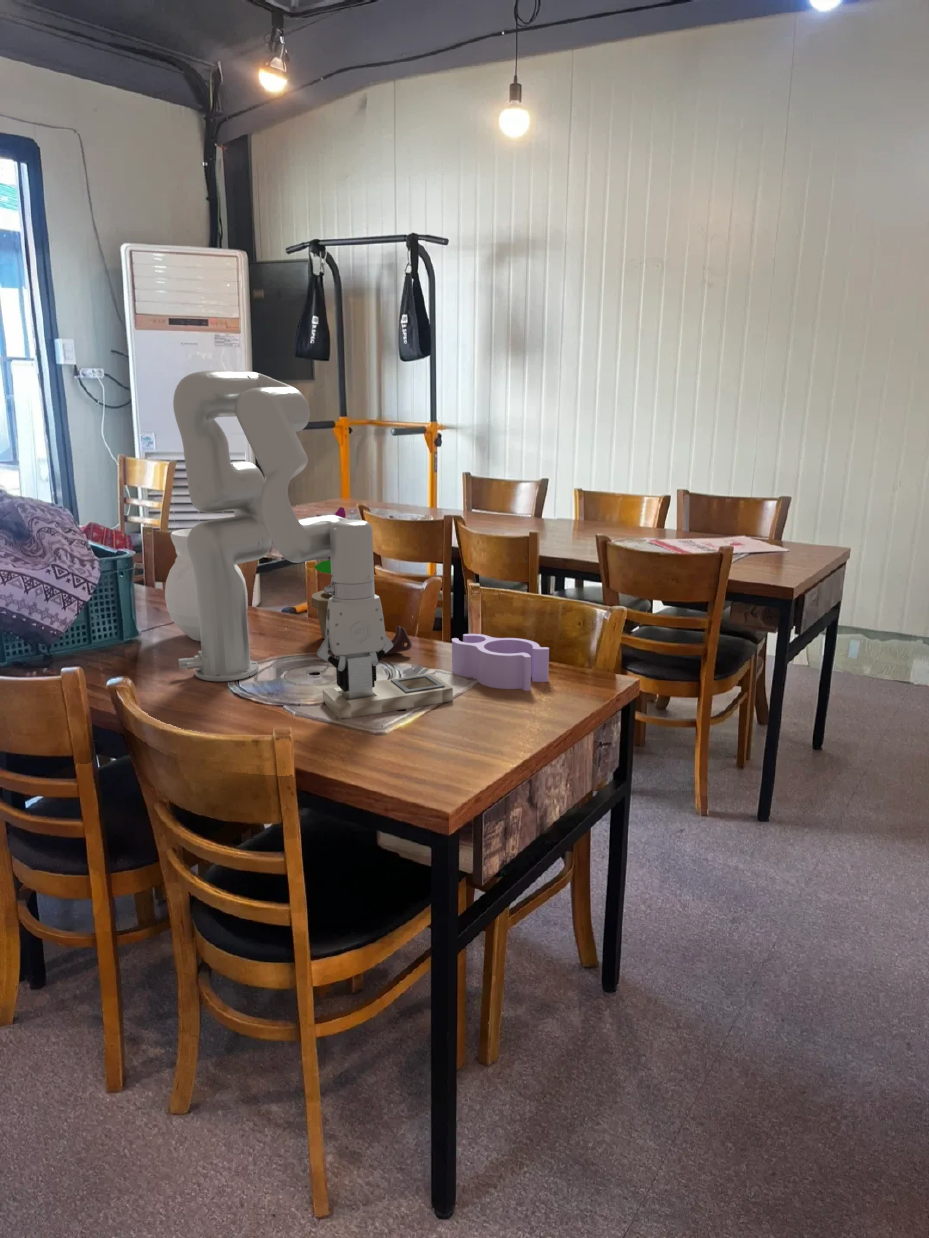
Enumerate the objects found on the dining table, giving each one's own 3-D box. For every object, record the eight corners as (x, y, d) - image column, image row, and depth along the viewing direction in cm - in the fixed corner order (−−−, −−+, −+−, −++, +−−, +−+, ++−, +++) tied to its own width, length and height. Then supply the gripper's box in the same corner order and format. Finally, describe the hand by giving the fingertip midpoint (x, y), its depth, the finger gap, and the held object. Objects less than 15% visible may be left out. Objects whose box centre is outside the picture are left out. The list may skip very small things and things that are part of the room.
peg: (350, 712, 165) (348, 659, 163) (342, 704, 169) (340, 652, 167) (373, 708, 167) (371, 655, 165) (365, 701, 171) (363, 649, 168)
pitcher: (152, 639, 213) (142, 532, 207) (214, 622, 228) (206, 522, 221) (205, 652, 203) (196, 540, 196) (267, 633, 217) (260, 529, 211)
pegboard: (339, 719, 162) (339, 704, 161) (323, 702, 170) (322, 687, 170) (452, 700, 171) (452, 686, 170) (431, 685, 180) (431, 671, 179)
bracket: (409, 647, 195) (401, 602, 197) (332, 662, 197) (325, 617, 198) (414, 650, 201) (406, 606, 203) (340, 665, 203) (332, 621, 204)
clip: (439, 675, 186) (439, 643, 184) (476, 661, 196) (476, 629, 194) (521, 695, 174) (521, 660, 172) (556, 678, 184) (556, 645, 182)
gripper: (313, 599, 156) (318, 700, 160) (405, 589, 163) (407, 686, 167) (301, 590, 162) (306, 688, 167) (390, 581, 169) (392, 675, 174)
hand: (357, 686), depth 167 cm, fingers closed on peg, 4 cm apart
